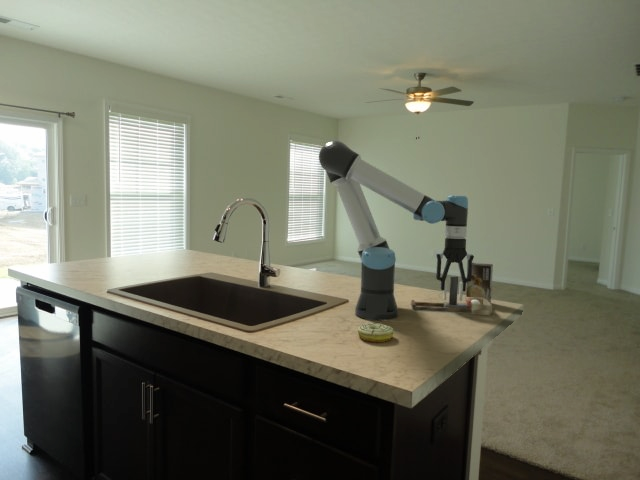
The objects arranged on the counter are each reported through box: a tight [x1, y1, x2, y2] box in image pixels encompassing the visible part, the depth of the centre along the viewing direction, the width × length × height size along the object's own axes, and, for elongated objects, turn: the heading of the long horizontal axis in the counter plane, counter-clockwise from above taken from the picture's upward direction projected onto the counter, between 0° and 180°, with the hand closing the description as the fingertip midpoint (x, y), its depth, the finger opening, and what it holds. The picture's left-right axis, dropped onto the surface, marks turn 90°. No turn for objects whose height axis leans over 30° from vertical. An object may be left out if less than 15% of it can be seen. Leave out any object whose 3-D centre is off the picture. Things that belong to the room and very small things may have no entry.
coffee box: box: [465, 262, 494, 305], centre depth 180 cm, size 9×6×16 cm
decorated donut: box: [357, 322, 395, 343], centre depth 135 cm, size 10×11×4 cm
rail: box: [410, 299, 471, 313], centre depth 171 cm, size 21×8×2 cm, turn 82°
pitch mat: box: [410, 304, 472, 315], centre depth 170 cm, size 28×12×1 cm, turn 82°
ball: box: [471, 300, 480, 307], centre depth 169 cm, size 4×4×4 cm
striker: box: [443, 275, 471, 309], centre depth 169 cm, size 9×5×12 cm, turn 82°
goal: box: [465, 296, 493, 316], centre depth 169 cm, size 7×12×4 cm, turn 172°
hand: (452, 299), depth 170 cm, fingers open, 5 cm apart
